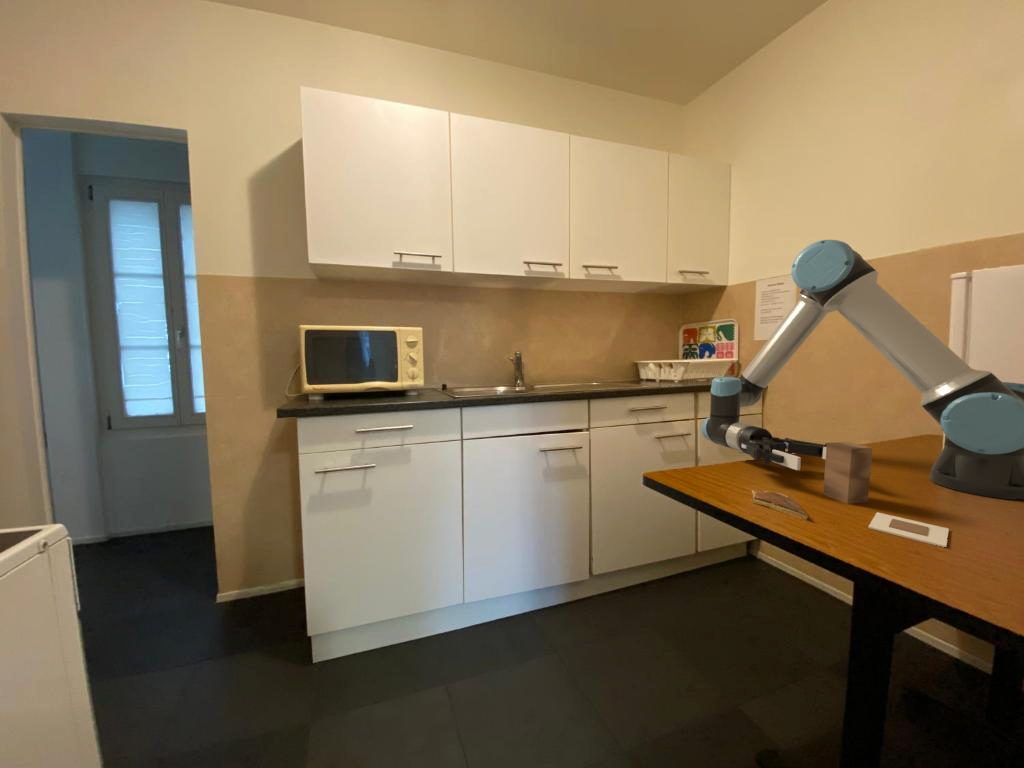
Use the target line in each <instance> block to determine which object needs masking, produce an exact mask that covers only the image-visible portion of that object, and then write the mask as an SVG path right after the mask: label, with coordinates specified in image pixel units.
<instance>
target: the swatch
mask: <svg viewBox="0 0 1024 768" xmlns="http://www.w3.org/2000/svg"><path fill="white" fill-rule="evenodd" d="M867 527H868V528H867V529H870V530H874V531H879V532H881V533H886V534H890V535H895V536H898V537H901V538H906V539H909V540H913V541H917V542H922V543H925V544H929V545H933V546H936V545H937V547H940V546H941V548H944V547H946V548H947V545H948V539H947V538H948V536H949V530H950V529H949V528H948V527H945V526H944V527H943V526H939V525H935V524H930V523H926V522H921V521H917V520H913V519H908V518H904V517H900V516H897V515H896V516H895V515H890V514H887V513H882V512H878V511H877V512H876V513H875V514H874V517H872V519H871V521H870V523H869V525H868V526H867Z"/></svg>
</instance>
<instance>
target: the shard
mask: <svg viewBox="0 0 1024 768" xmlns="http://www.w3.org/2000/svg"><path fill="white" fill-rule="evenodd" d="M751 493H752V495H753V496H752V497H751V498H750V501H751V503H752V504H755V505H759V506H762V505H763V507H766V508H768V507H769V508H768V509H772V510H774V511H777V512H780V513H783V514H784V515H787V516H791V517H794V518H796V519H800V520H804V521H808V518H809V517H810V515H808V514H807V513H806V512H805V510H803V509H802V508H801V506H800V505H799V504H798V502H796V501H795V499H793V498H792V497H791V496H790V495H786V494H783V493H780V492H776V491H768V490H767V491H766V490H757V489H753V490H751Z"/></svg>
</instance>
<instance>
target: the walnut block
mask: <svg viewBox="0 0 1024 768" xmlns="http://www.w3.org/2000/svg"><path fill="white" fill-rule="evenodd" d="M826 443H827V447H826V459H825V461H824V463H825V464H824V477H823V490H822V491H823V492H822V493H823V494H822V495H824V496H825V495H826V497H828V498H831V499H833V498H834V500H836V501H838V502H842V503H844V504H849V505H850V504H859V503H868V502H869V494H870V493H869V491H870V480H871V471H872V470H871V467H872V458H873V457H872V456H873V447H871V446H868V445H863V444H857V443H853V442H849V441H836V442H826Z"/></svg>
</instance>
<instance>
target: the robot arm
mask: <svg viewBox="0 0 1024 768" xmlns="http://www.w3.org/2000/svg"><path fill="white" fill-rule="evenodd" d="M878 276H879V272H878V271H877V270H876V269H875V268H874V267H873V266H872V265H870V264H869V263H868V262H867V261H866V260H865V259H864V258H863V257H862V255H861V254H860V253H859V252H857V250H856V251H855V250H854V249H853V248H852V247H851V246H850V245H849V244H848V243H846V242H845V241H842V240H839V239H837V240H835V239H823V240H817V241H815V242H813V243H810V244H809V245H807V246H806V247H804V248H803V249H802V250H801V251H800V252H799V253H798V254H797V255H796V257H795V258H794V260H793V263H792V265H791V278H792V281H793V282H794V284H795V285H796V286H797V287H798V288H799V289H801V290H800V291H799V293H798V297H799V298H798V300H797V302H796V303H795V304H794V306H793V307H792V308H791V310H790V311H789V312H788V314H787V315H786V316H785V317H784V319H783V320H782V321H781V322H780V324H779V325H778V326H777V327H776V329H775V331H774V332H773V333H772V334H771V335H770V337H769V338H768V339H767V341H766V342H765V343H764V344H763V346H762V347H761V348H760V350H759V351H758V352H757V354H756V355H755V356H754V358H753V359H752V360H751V361H750V363H749V364H748V365H747V366H746V368H744V370H743V371H742V372H741V375H740V376H739V377H732V376H731V377H727V376H724V377H723V376H722V377H718V376H717V377H714V378H713V379H712V380H711V387H710V411H709V412H710V413H709V416H708V417H706V418H704V420H703V422H702V424H701V427H700V428H701V429H700V430H701V434H702V436H703V437H704V438H705V440H708V441H710V442H711V443H714V444H716V445H720V446H724V447H726V448H730V449H733V450H735V451H738V453H739V454H742V453H745V454H746V455H749V456H750V457H751V458H753V460H754V461H758V462H759V461H760V462H761V461H762V459H763V464H765V465H770V464H771V463H775V464H778V465H780V466H783V467H786V468H789V469H792V470H795V471H801V461H802V460H801V459H802V457H800V456H797V455H805V456H810V457H818V458H820V457H821V458H822V460H826V447H827V443H828V442H825V444H822V443H816V442H811V441H804V440H797V439H792V438H789V437H786V438H780V437H776V436H773V435H772V434H771V432H770V431H769V430H768V429H766V428H764V427H759V426H754V425H752V424H748V423H744V422H740V417H741V408H745V407H750V406H754V405H755V404H757V403H759V402H760V400H761V398H762V395H763V392H764V391H765V389H766V388H767V387H768V386H769V384H770V383H772V381H773V380H774V378H775V377H776V376H777V375H778V374H779V373H780V371H781V370H782V369H783V368H784V367H785V366H786V364H787V363H788V362H789V361H790V359H791V358H792V357H793V356H794V355H795V354H796V352H797V351H798V350H799V348H800V347H801V346H802V345H803V344H804V343H805V342H806V340H807V339H808V338H809V337H810V335H811V334H812V333H813V332H814V331H815V329H816V328H817V327H818V326H819V325H820V323H822V321H823V320H824V319H825V318H826V317H827V315H828V314H829V313H835V312H836V311H837V312H838V313H839V314H840V315H842V317H843V318H845V319H846V321H847V322H848V323H849V324H851V326H852V327H853V328H854V329H856V330H857V332H858V333H859V334H861V336H862V337H863V338H864V339H865V340H866V341H868V342H869V344H871V345H872V347H874V349H876V350H877V351H878V352H879V353H880V354H881V356H882V357H884V359H886V360H887V362H889V363H890V364H891V365H892V366H893V367H894V368H895V369H896V370H897V371H898V372H899V373H900V374H901V375H902V376H903V377H904V378H905V379H906V380H907V381H908V382H909V383H910V384H911V385H912V386H913V388H915V389H916V390H917V391H918V392H920V394H921V398H920V399H921V400H920V403H919V405H920V406H921V407H922V408H923V409H924V410H925V411H926V412H927V413H928V414H929V415H930V416H931V418H933V419H934V420H935V422H937V424H939V425H940V426H941V431H942V432H943V433H944V441H943V442H944V443H943V448H942V450H941V452H940V454H939V455H938V457H937V458H936V460H935V462H934V463H933V465H932V467H931V468H930V473H929V480H930V481H931V482H933V483H934V484H936V485H938V486H939V485H940V486H942V487H944V488H948V489H950V490H951V489H952V490H954V491H955V490H956V491H959V492H963V493H968V494H972V495H978V496H984V497H990V498H997V499H1006V500H1016V499H1024V383H1017V382H1009V381H1008V382H1007V381H1006V382H1005V381H1002V380H1000V379H999V378H998V377H997V376H996V375H995V374H993V372H991V371H989V370H981V369H979V370H978V369H974V368H972V367H971V366H970V365H968V364H967V363H966V362H965V361H964V360H963V359H962V358H961V357H960V356H959V355H957V354H956V353H955V352H954V351H953V350H952V349H951V348H950V347H948V346H947V345H946V344H945V343H944V342H943V341H942V340H941V339H940V338H938V337H937V335H935V334H934V333H933V332H932V331H930V329H928V328H927V327H926V326H925V324H923V323H922V322H921V321H920V320H918V319H917V318H916V317H915V316H914V315H913V313H911V312H910V311H909V310H907V309H906V307H904V306H903V305H902V304H901V303H900V302H899V301H898V300H897V299H896V298H894V297H893V296H892V295H891V294H890V293H889V292H888V291H886V290H885V289H884V288H883V287H882V286H881V285H880V284H879V283H878ZM794 454H797V455H794Z"/></svg>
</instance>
